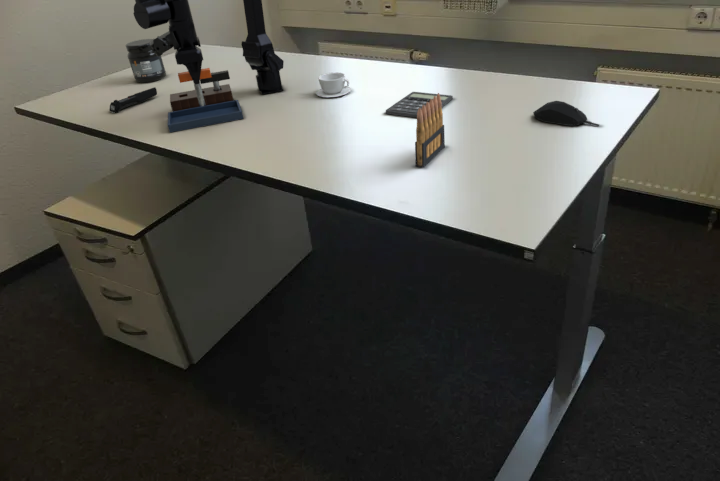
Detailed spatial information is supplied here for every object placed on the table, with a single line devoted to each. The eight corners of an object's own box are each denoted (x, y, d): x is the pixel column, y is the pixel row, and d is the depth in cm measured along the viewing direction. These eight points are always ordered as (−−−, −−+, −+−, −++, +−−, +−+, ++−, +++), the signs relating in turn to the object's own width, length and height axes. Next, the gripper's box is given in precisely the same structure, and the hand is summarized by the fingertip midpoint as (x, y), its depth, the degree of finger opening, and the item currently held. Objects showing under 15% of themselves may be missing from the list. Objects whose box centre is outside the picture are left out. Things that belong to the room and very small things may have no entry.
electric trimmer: (161, 97, 167) (158, 87, 166) (116, 113, 158) (112, 103, 156) (154, 96, 170) (151, 85, 168) (109, 111, 160) (105, 101, 158)
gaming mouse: (593, 131, 117) (596, 113, 115) (528, 119, 125) (529, 102, 123) (604, 121, 121) (607, 103, 118) (540, 110, 129) (542, 94, 127)
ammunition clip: (437, 145, 118) (436, 91, 112) (445, 146, 117) (444, 91, 111) (415, 166, 111) (413, 109, 104) (423, 167, 110) (421, 110, 103)
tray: (239, 106, 153) (237, 99, 152) (243, 118, 144) (241, 111, 143) (170, 119, 149) (167, 112, 148) (169, 132, 140) (167, 125, 139)
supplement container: (154, 72, 193) (144, 37, 186) (173, 75, 187) (163, 39, 180) (129, 81, 186) (117, 45, 179) (147, 85, 180) (136, 47, 174)
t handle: (217, 101, 146) (209, 67, 141) (218, 103, 144) (209, 69, 140) (187, 107, 145) (177, 73, 140) (187, 109, 143) (177, 75, 138)
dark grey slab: (234, 101, 157) (227, 70, 152) (235, 103, 155) (228, 71, 150) (206, 106, 155) (198, 75, 150) (207, 108, 154) (199, 76, 149)
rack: (232, 99, 159) (229, 83, 156) (235, 106, 153) (231, 90, 151) (174, 109, 156) (170, 94, 153) (174, 117, 150) (169, 101, 147)
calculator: (385, 109, 136) (412, 90, 147) (385, 113, 137) (413, 94, 147) (427, 115, 131) (453, 94, 141) (427, 118, 131) (453, 98, 142)
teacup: (310, 98, 153) (307, 81, 150) (325, 86, 161) (323, 70, 158) (342, 99, 149) (341, 82, 147) (356, 87, 157) (355, 71, 154)
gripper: (147, 17, 139) (165, 78, 147) (144, 31, 124) (164, 99, 132) (192, 11, 141) (207, 71, 149) (194, 24, 126) (211, 90, 134)
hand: (196, 82), depth 141 cm, fingers closed on t handle, 2 cm apart
